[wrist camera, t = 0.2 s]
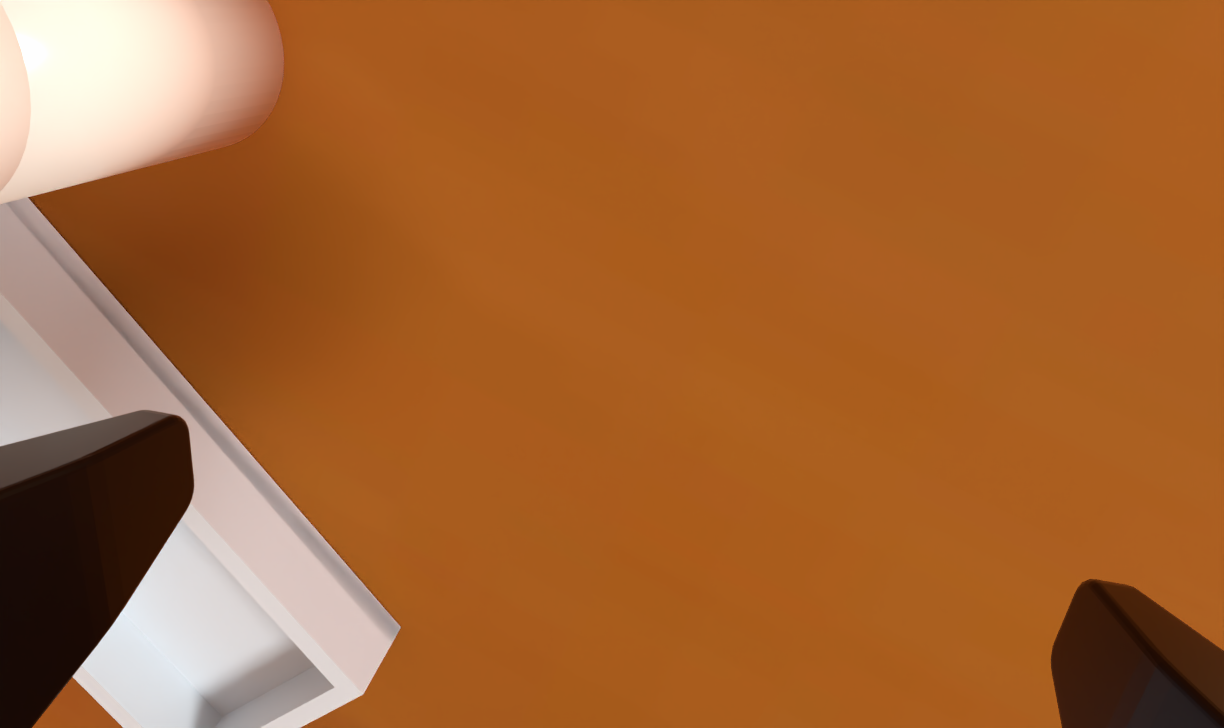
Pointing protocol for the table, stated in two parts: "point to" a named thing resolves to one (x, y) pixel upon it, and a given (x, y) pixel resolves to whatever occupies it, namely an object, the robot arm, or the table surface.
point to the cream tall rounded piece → (128, 85)
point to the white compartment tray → (183, 521)
